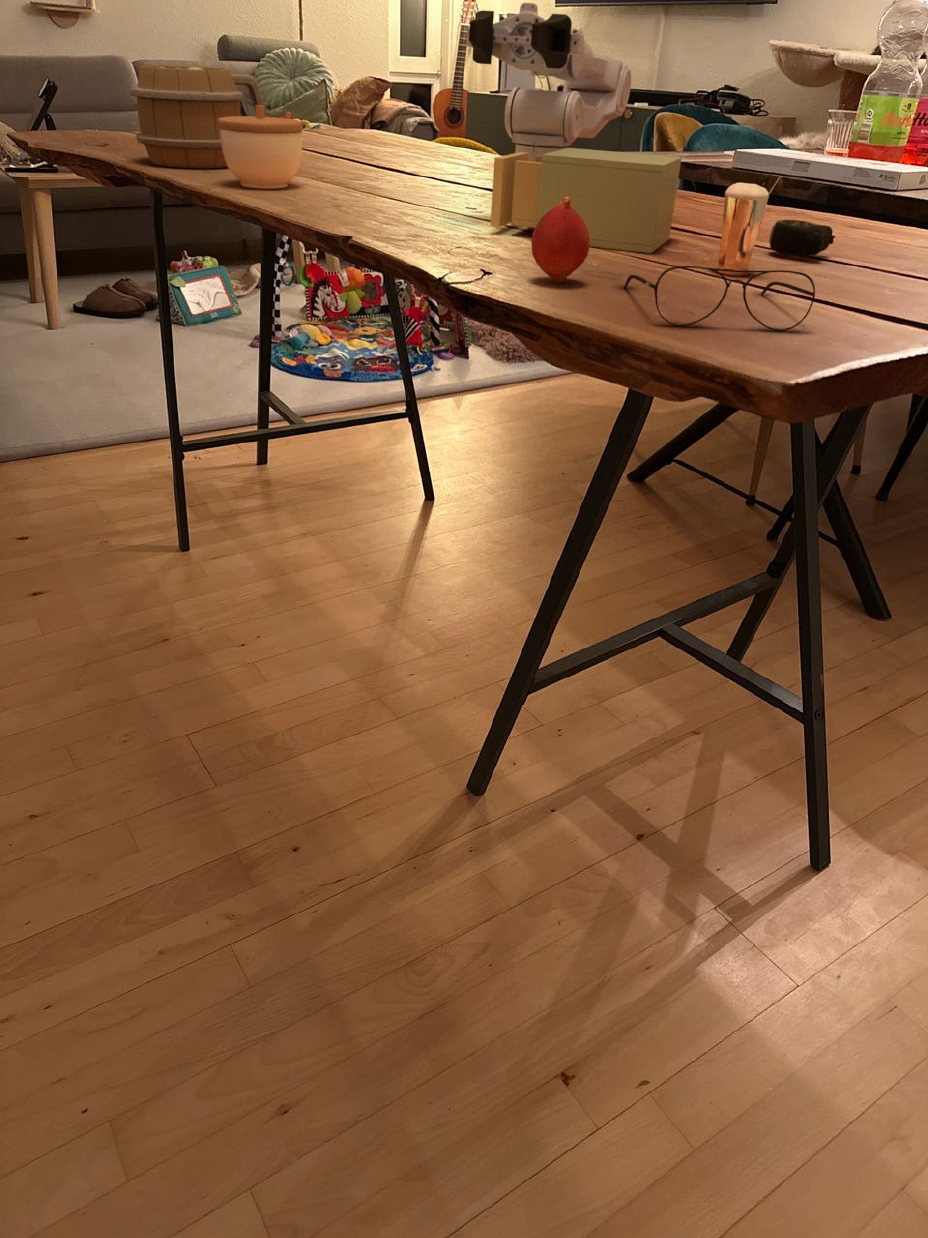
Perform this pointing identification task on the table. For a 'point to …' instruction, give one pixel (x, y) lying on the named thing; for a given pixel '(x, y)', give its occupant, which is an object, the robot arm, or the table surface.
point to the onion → (560, 241)
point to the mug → (188, 112)
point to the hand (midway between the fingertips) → (502, 32)
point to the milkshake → (741, 225)
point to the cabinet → (613, 195)
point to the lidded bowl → (261, 149)
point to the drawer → (515, 190)
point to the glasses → (729, 286)
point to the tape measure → (800, 238)
